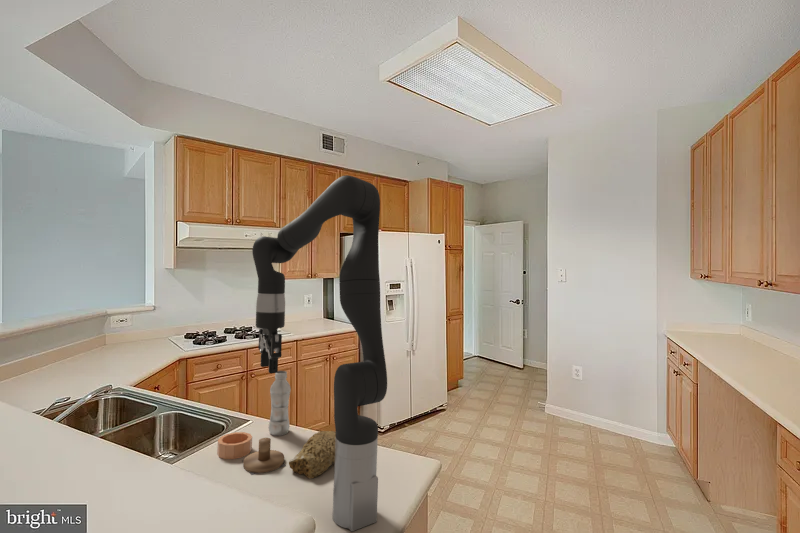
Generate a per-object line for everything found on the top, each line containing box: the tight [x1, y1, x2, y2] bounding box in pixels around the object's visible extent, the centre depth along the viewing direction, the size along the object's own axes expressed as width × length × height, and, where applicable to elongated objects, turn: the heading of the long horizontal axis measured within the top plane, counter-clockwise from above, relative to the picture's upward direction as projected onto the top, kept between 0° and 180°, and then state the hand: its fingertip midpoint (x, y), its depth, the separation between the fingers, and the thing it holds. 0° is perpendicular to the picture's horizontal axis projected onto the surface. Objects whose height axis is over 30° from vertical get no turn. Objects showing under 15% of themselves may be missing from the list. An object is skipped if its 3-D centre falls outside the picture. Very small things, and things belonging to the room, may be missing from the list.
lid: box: [242, 437, 285, 474], centre depth 106 cm, size 10×10×6 cm
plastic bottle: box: [268, 370, 291, 437], centre depth 126 cm, size 6×7×20 cm
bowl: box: [216, 431, 253, 460], centre depth 112 cm, size 9×9×4 cm
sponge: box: [288, 430, 336, 479], centre depth 109 cm, size 13×8×20 cm
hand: (268, 369), depth 107 cm, fingers open, 8 cm apart
